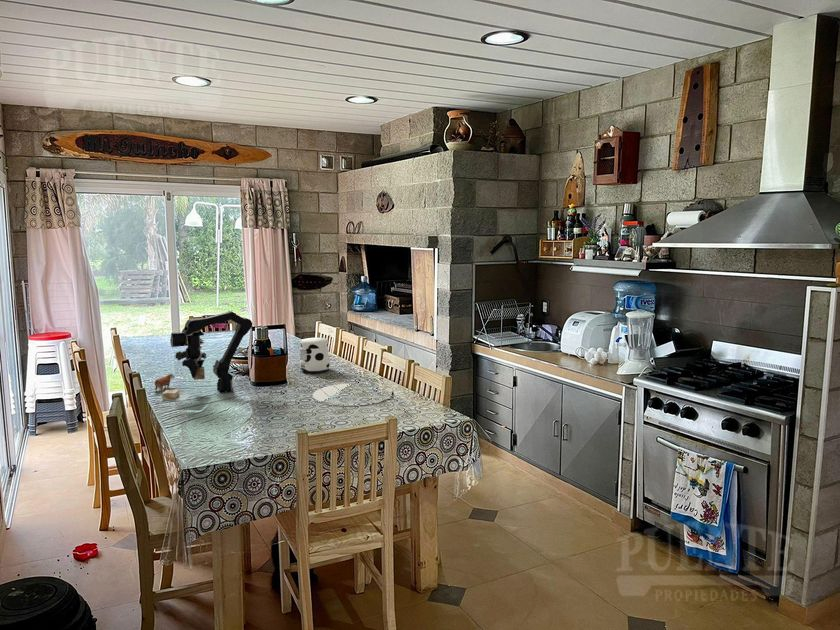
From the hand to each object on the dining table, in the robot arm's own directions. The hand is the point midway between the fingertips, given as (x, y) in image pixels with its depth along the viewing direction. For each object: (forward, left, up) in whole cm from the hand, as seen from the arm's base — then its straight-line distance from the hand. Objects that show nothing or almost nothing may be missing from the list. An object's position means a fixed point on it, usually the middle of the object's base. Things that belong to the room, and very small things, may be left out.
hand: (195, 376), depth 297 cm
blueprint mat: (+8, +7, -10) cm, 14 cm away
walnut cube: (-2, 0, -1) cm, 2 cm away
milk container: (-52, -48, -10) cm, 72 cm away
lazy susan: (-77, +4, -10) cm, 78 cm away
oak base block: (+10, +7, -9) cm, 15 cm away
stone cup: (+46, -139, -10) cm, 147 cm away
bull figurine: (+19, -10, -10) cm, 24 cm away
